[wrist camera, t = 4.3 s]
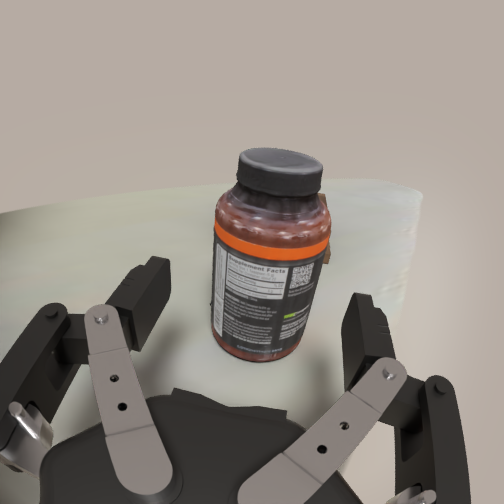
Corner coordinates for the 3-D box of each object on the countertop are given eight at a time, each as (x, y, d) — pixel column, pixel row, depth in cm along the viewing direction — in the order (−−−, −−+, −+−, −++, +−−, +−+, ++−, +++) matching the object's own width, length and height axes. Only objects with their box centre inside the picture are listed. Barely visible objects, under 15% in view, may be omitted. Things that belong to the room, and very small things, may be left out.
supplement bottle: (241, 291, 24) (258, 137, 18) (314, 323, 22) (357, 162, 16) (191, 337, 19) (192, 154, 13) (275, 382, 17) (322, 188, 11)
